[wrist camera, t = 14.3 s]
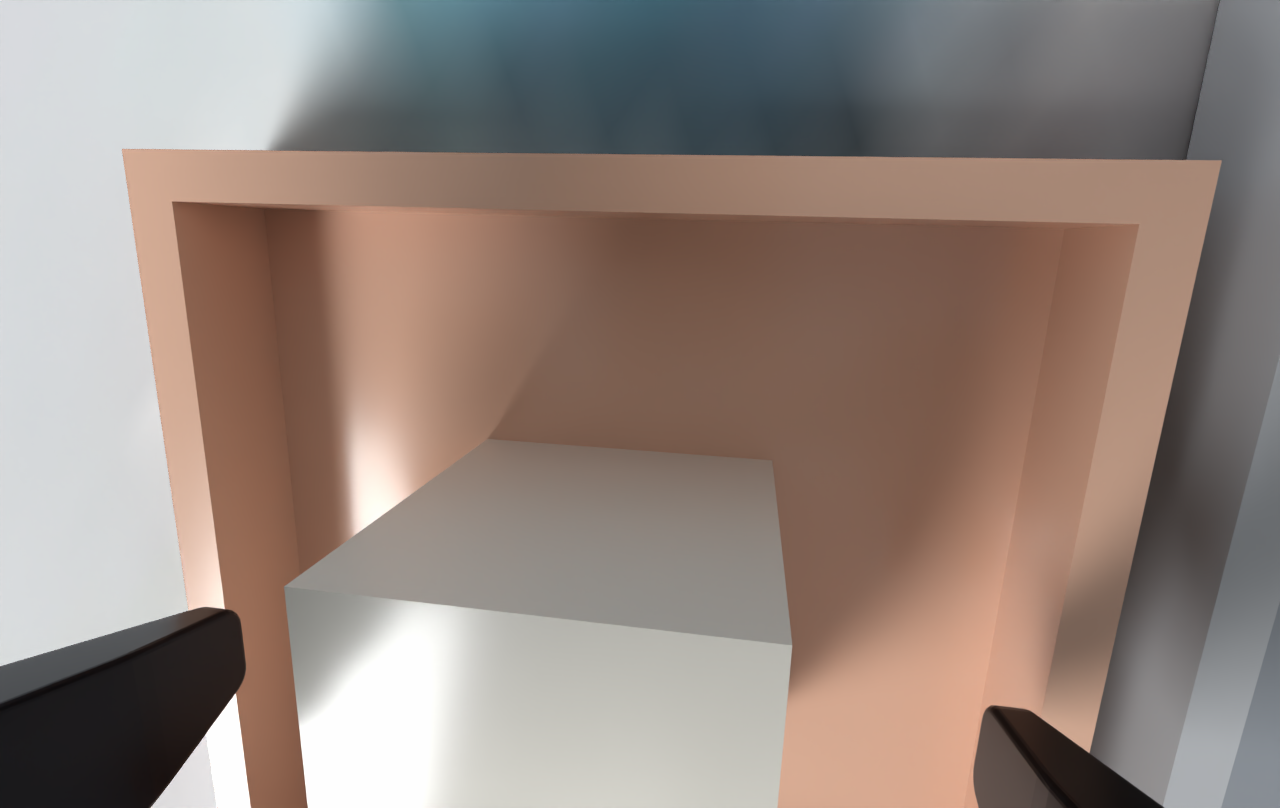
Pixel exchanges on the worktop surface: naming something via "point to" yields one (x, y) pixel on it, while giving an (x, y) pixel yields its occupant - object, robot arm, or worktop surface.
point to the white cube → (551, 638)
